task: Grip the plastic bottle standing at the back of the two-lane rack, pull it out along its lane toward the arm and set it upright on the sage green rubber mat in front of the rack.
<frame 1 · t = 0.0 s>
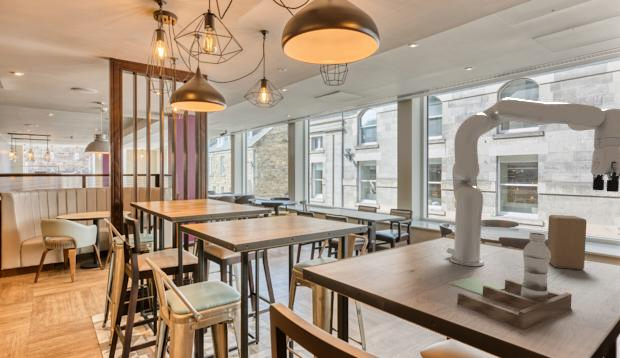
hand: (604, 190, 123), 31 cm above the table, tool pointing down, fingers open, 9 cm apart
block: (564, 266, 136), on the table
bottle rack: (511, 305, 94), on the table
plastic bottle: (534, 305, 94), on the table
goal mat: (476, 286, 109), on the table
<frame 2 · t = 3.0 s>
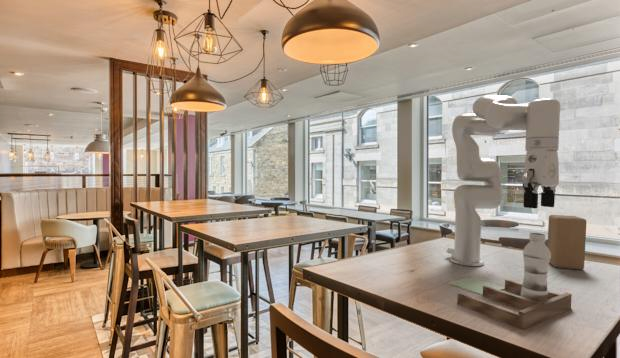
hand: (539, 207, 93), 27 cm above the table, tool pointing down, fingers open, 9 cm apart
nothing on the table moved.
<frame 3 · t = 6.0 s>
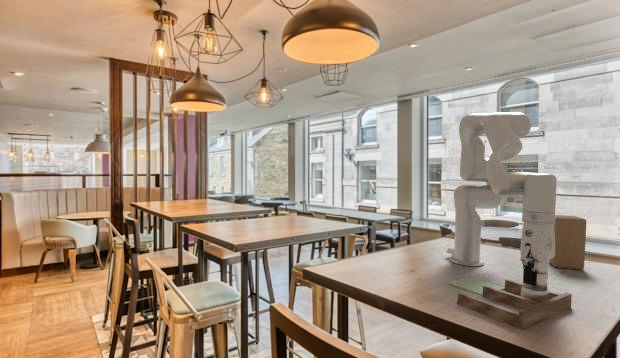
hand: (535, 281, 94), 7 cm above the table, tool pointing down, fingers closed on plastic bottle, 5 cm apart
plastic bottle: (534, 305, 94), on the table, touching gripper
everything else where it was.
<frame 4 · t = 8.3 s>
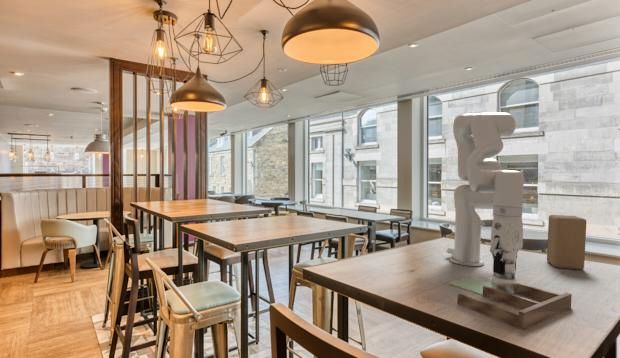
hand: (504, 271, 101), 7 cm above the table, tool pointing down, fingers closed on plastic bottle, 5 cm apart
plastic bottle: (503, 293, 102), on the table, touching gripper
everything else where it was.
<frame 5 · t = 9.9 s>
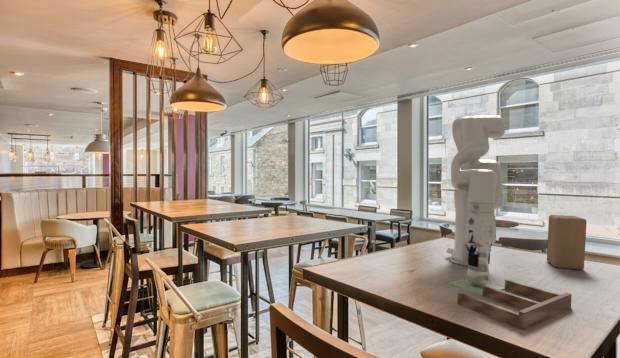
hand: (478, 264, 108), 7 cm above the table, tool pointing down, fingers closed on plastic bottle, 5 cm apart
plastic bottle: (477, 284, 108), point 1 cm above the table, touching gripper
everything else where it was.
when the fingers open (7 cm above the table, at t = 10.9 s): plastic bottle stays where it is, resting on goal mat.
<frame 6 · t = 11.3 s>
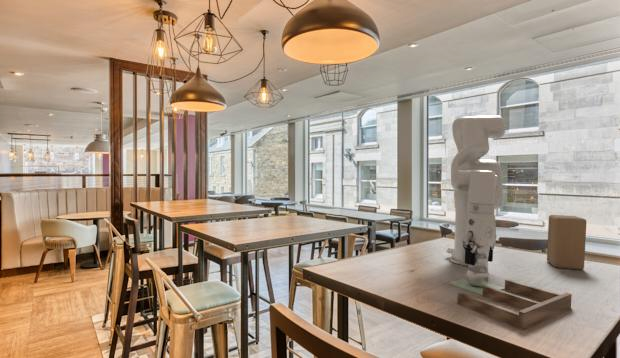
hand: (478, 262, 108), 8 cm above the table, tool pointing down, fingers open, 9 cm apart
plastic bottle: (477, 286, 108), resting on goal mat
everything else where it was.
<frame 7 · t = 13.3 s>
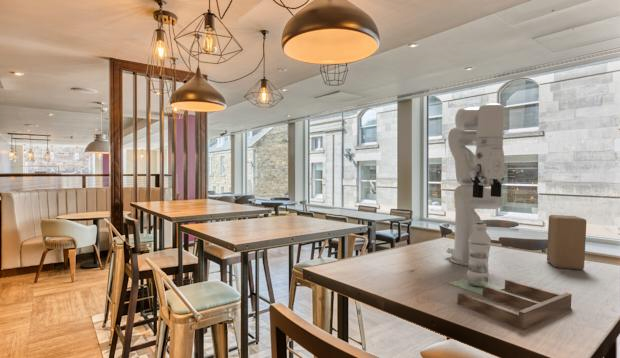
hand: (486, 197, 109), 29 cm above the table, tool pointing down, fingers open, 9 cm apart
nothing on the table moved.
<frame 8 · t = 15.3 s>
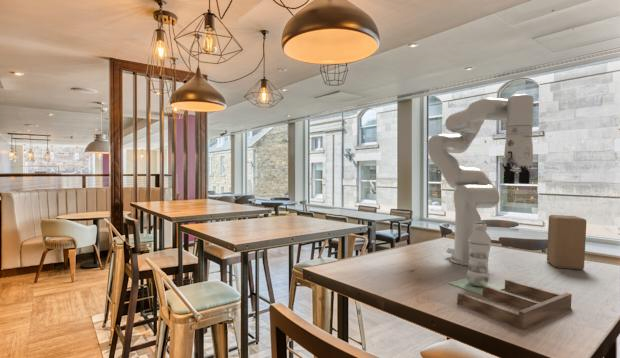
hand: (516, 183, 114), 33 cm above the table, tool pointing down, fingers open, 9 cm apart
nothing on the table moved.
at the end: plastic bottle inside the target area (0.3 cm from its centre), resting on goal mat; plastic bottle tilted 0°; the gripper is holding nothing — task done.
